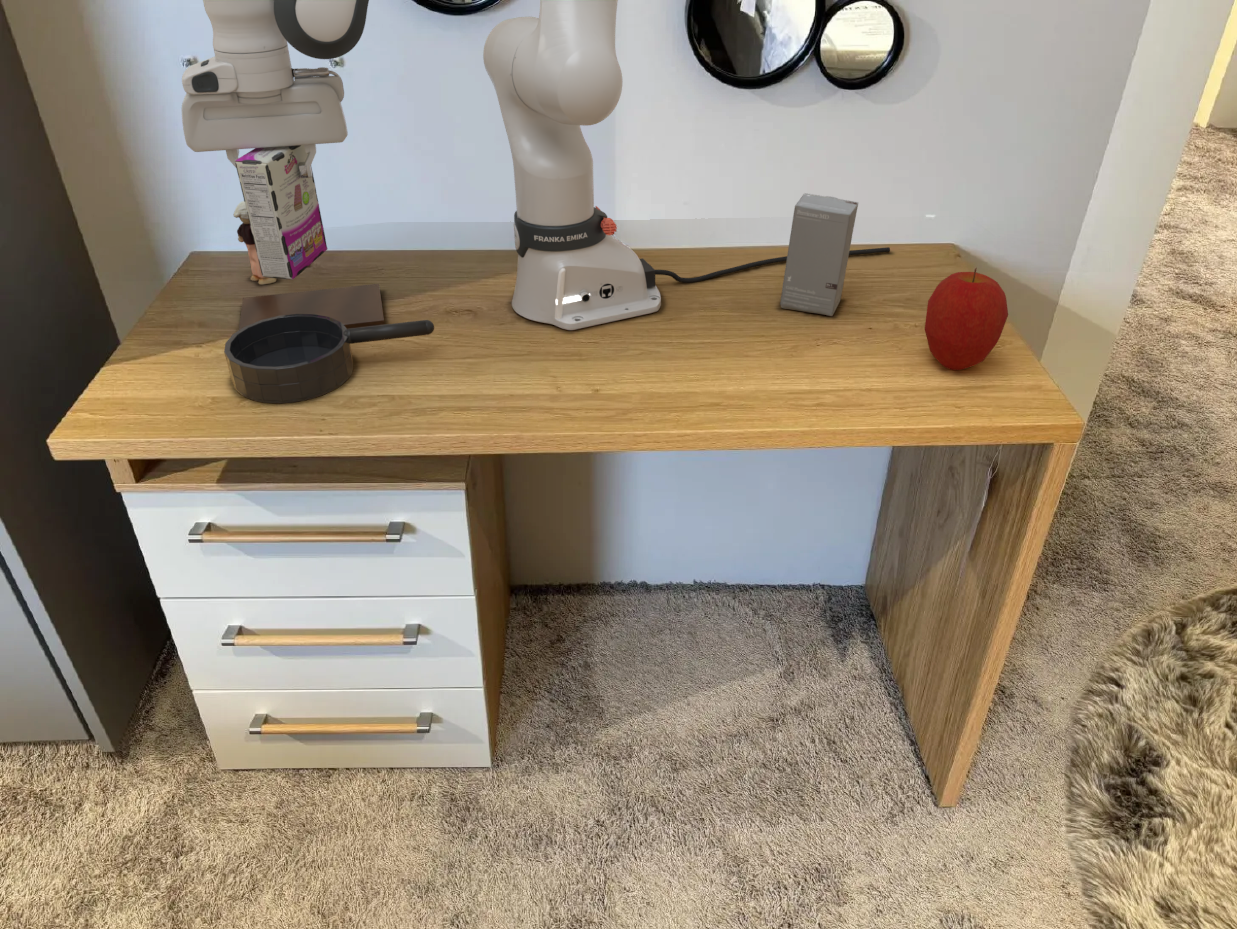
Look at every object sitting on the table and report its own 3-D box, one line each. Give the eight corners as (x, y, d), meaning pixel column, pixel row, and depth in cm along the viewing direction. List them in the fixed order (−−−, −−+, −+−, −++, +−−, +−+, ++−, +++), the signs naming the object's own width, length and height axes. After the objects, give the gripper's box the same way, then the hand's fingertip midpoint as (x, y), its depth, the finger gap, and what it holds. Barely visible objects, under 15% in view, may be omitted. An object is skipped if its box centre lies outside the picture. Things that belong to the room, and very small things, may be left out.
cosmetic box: (779, 309, 143) (789, 206, 134) (790, 290, 149) (801, 190, 140) (835, 318, 141) (850, 213, 132) (845, 299, 146) (859, 197, 137)
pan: (351, 340, 135) (345, 308, 132) (355, 394, 123) (349, 360, 120) (237, 353, 132) (228, 320, 129) (229, 410, 120) (220, 375, 117)
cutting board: (380, 292, 148) (378, 283, 147) (385, 329, 138) (383, 319, 137) (245, 306, 144) (242, 297, 143) (239, 346, 134) (237, 336, 133)
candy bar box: (297, 247, 141) (274, 134, 131) (328, 250, 140) (308, 136, 131) (259, 278, 132) (232, 158, 122) (292, 281, 131) (268, 161, 122)
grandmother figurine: (287, 279, 152) (271, 201, 145) (268, 288, 149) (250, 209, 142) (255, 269, 156) (237, 192, 148) (235, 277, 153) (216, 200, 146)
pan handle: (434, 329, 130) (432, 316, 129) (435, 336, 129) (434, 322, 127) (343, 340, 128) (341, 326, 127) (344, 347, 126) (341, 333, 125)
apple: (1008, 379, 126) (1034, 281, 118) (935, 385, 125) (957, 286, 117) (972, 343, 134) (994, 248, 126) (904, 348, 133) (922, 253, 125)
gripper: (339, 61, 126) (355, 166, 134) (174, 69, 121) (200, 177, 129) (340, 71, 121) (357, 180, 129) (168, 80, 116) (196, 192, 124)
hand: (277, 179), depth 129 cm, fingers closed on candy bar box, 6 cm apart
